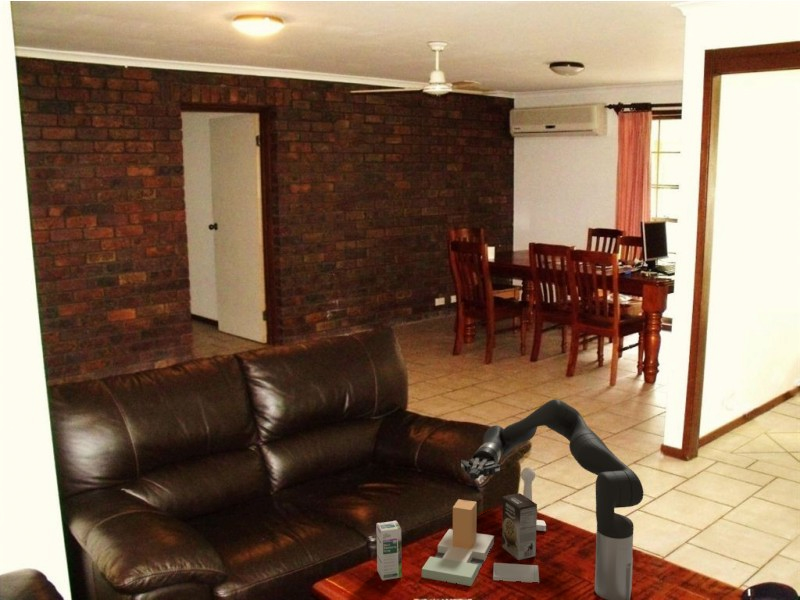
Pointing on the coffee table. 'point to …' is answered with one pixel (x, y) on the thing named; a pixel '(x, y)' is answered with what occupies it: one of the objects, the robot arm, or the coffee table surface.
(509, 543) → the coffee box
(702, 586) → the coffee table surface
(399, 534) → the syrup box
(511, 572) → the hard drive
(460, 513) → the orange block
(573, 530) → the coffee table surface
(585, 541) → the coffee table surface
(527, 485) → the joystick
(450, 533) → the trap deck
